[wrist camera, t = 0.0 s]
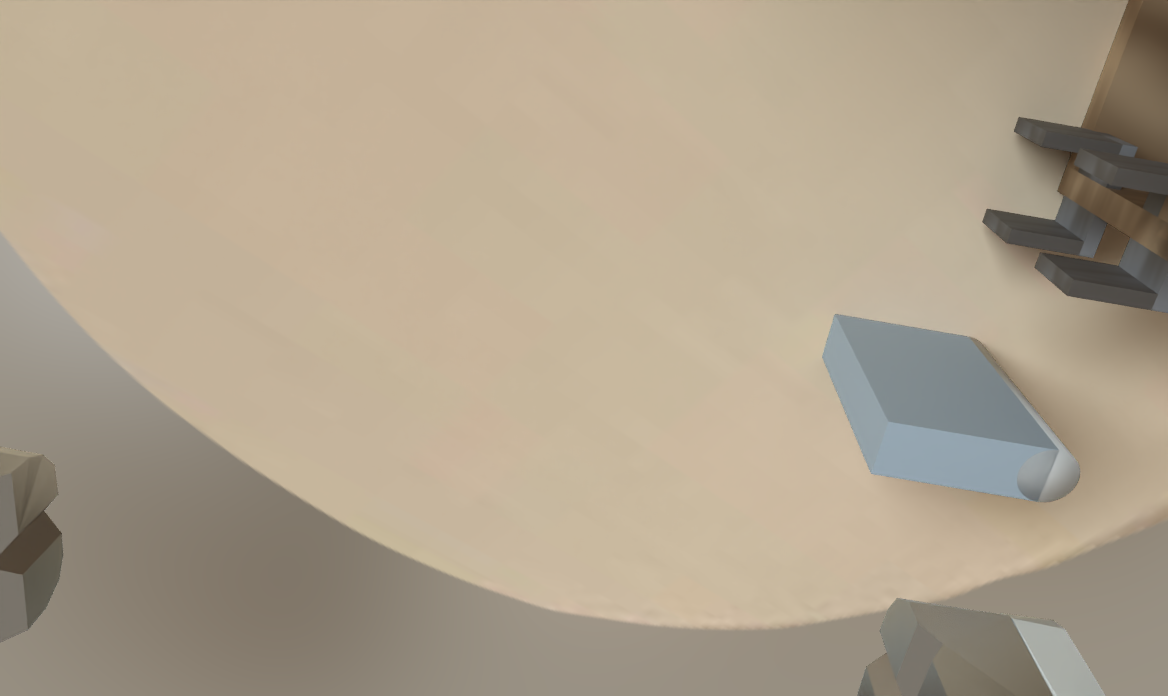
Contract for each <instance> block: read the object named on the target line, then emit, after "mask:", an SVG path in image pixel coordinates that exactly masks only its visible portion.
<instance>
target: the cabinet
mask: <svg viewBox="0 0 1168 696" xmlns="http://www.w3.org/2000/svg"><path fill="white" fill-rule="evenodd" d="M1014 132H1016V133H1018V134H1019V135H1021V136H1023V137H1025V138H1027V139H1029V140H1030V141H1032V142H1034V143H1036V144H1038V145H1039V146H1041V147H1046V148H1052V149H1058V150H1063V151H1069V152H1072V153H1071V156H1070V159H1069V161H1068V164H1067V167H1066V169H1065V172H1064V175H1063V177H1062V180H1061V183H1060V185H1059V188H1058V192H1060V193H1061V194H1063V195H1064V198H1063V200H1062V203H1061V206H1060V208H1059V211H1058V214H1057V216H1056V219H1055V220H1049V219H1043V218H1038V217H1032V216H1026V215H1020V214H1014V213H1009V212H1003V211H997V210H991V209H987V210H986V213H985V216H984V219H983V223H984V224H985V225H986V226H988V227H989V228H990V229H991V230H992V231H993V232H994V233H996V234H997V235H998V236H999V237H1000V238H1001V239H1003V240H1004V241H1005V242H1006V243H1009V244H1015V245H1021V246H1026V247H1032V248H1038V249H1044V250H1050V251H1055V252H1061V253H1067V254H1073V255H1079V256H1085V257H1090V258H1094V255H1095V253H1096V250H1097V248H1098V245H1099V243H1100V240H1101V238H1102V235H1103V233H1104V230H1105V228H1106V225H1107V223H1108V224H1110V225H1111V226H1113V227H1115V228H1116V229H1118V230H1119V231H1121V232H1122V233H1124V234H1126V235H1127V236H1129V237H1130V240H1129V242H1128V244H1127V247H1126V249H1125V252H1124V254H1123V256H1122V259H1121V261H1120V264H1119V266H1116V265H1110V264H1104V263H1098V262H1093V261H1087V260H1081V259H1075V258H1069V257H1064V256H1058V255H1052V254H1046V253H1040V255H1039V257H1038V260H1037V262H1036V265H1035V268H1036V269H1037V270H1038V271H1039V272H1040V273H1042V274H1043V275H1044V276H1045V277H1046V278H1047V279H1048V280H1050V281H1051V282H1052V283H1053V284H1054V285H1055V286H1057V287H1058V288H1059V289H1060V290H1061V291H1062V292H1063V293H1065V294H1066V295H1067V296H1071V297H1077V298H1083V299H1089V300H1095V301H1101V302H1106V303H1112V304H1118V305H1124V306H1130V307H1136V308H1141V309H1147V310H1153V311H1159V312H1165V313H1168V0H1129V2H1128V4H1127V7H1126V10H1125V12H1124V15H1123V18H1122V20H1121V23H1120V25H1119V28H1118V31H1117V33H1116V36H1115V39H1114V41H1113V44H1112V47H1111V49H1110V52H1109V55H1108V57H1107V60H1106V63H1105V65H1104V68H1103V71H1102V73H1101V76H1100V79H1099V81H1098V84H1097V87H1096V89H1095V92H1094V95H1093V97H1092V100H1091V103H1090V105H1089V108H1088V111H1087V113H1086V116H1085V119H1084V121H1083V124H1082V127H1081V128H1079V127H1073V126H1067V125H1062V124H1056V123H1050V122H1044V121H1039V120H1033V119H1027V118H1021V117H1019V118H1018V121H1017V124H1016V127H1015V129H1014Z"/></svg>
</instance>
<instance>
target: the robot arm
mask: <svg viewBox="0 0 1168 696" xmlns="http://www.w3.org/2000/svg"><path fill="white" fill-rule="evenodd" d="M57 495H58V487H57V479H56V471H55V465H54V464H53V463H52V462H51V461H50V460H49V459H47V458H46V457H45V456H44V455H42V454H36V453H31V452H26V451H21V450H15V449H10V448H5V447H0V642H3V641H5V640H7V639H9V638H11V637H14V636H16V635H18V634H20V633H22V632H25V631H27V630H28V629H29V628H30V627H31V625H33V623H34V622H35V621H36V620H37V618H38V617H39V616H40V615H41V614H42V612H43V611H44V610H45V609H46V607H47V605H48V603H49V601H50V598H51V596H52V594H53V592H54V589H55V587H56V585H57V583H58V581H59V577H60V571H61V565H62V558H63V545H62V533H61V532H60V531H59V529H58V528H57V527H56V526H55V524H54V523H53V522H52V521H51V519H50V518H49V517H48V515H47V514H46V513H45V512H44V510H45V509H46V508H47V507H48V506H49V505H50V503H51V502H52V501H53V500H54V499H55V498H56V497H57ZM880 633H881V636H882V639H883V642H884V645H885V648H886V651H887V653H885V654H884V655H882V656H881V657H879V658H878V659H877V660H875V661H874V662H872V663H871V664H869V665H868V666H866V669H865V673H864V676H863V679H862V682H861V685H860V688H859V691H858V696H1105V694H1104V692H1103V691H1102V689H1101V687H1100V686H1099V684H1098V682H1097V681H1096V679H1095V677H1094V676H1093V674H1092V672H1091V671H1090V669H1089V668H1088V666H1087V664H1086V662H1085V661H1084V659H1083V658H1082V656H1081V654H1080V653H1079V651H1078V649H1077V648H1076V646H1075V645H1074V643H1073V641H1072V639H1071V638H1070V636H1069V635H1068V633H1067V631H1066V630H1065V629H1064V628H1063V627H1062V626H1061V625H1059V624H1057V623H1056V622H1055V621H1054V620H1050V619H1043V618H1035V617H1028V616H1020V615H1013V614H1006V613H1000V614H995V613H989V612H983V611H976V610H970V609H964V608H957V607H951V606H944V605H938V604H932V603H925V602H919V601H912V600H906V599H900V598H897V599H896V600H895V601H894V603H893V604H892V605H891V606H890V608H889V609H888V611H887V613H886V616H885V618H884V621H883V624H882V626H881V629H880Z"/></svg>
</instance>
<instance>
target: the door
mask: <svg viewBox="0 0 1168 696" xmlns="http://www.w3.org/2000/svg"><path fill="white" fill-rule="evenodd" d="M822 358H823V360H824V363H825V365H826V367H827V370H828V372H829V375H830V377H831V379H832V382H833V384H834V386H835V389H836V391H837V394H838V396H839V398H840V401H841V403H842V406H843V408H844V410H845V413H846V415H847V418H848V420H849V422H850V425H851V427H852V429H853V432H854V434H855V437H856V439H857V441H858V444H859V446H860V449H861V451H862V453H863V456H864V458H865V460H866V463H867V465H868V468H869V470H870V472H871V474H875V475H881V476H887V477H893V478H899V479H905V480H911V481H917V482H923V483H929V484H935V485H941V486H947V487H953V488H959V489H965V490H971V491H977V492H983V493H989V494H995V495H1000V496H1006V497H1012V498H1018V499H1024V500H1030V501H1036V502H1051V501H1055V500H1058V499H1060V498H1062V497H1064V496H1066V495H1067V494H1069V493H1070V492H1071V491H1072V490H1073V489H1074V488H1075V486H1076V485H1077V483H1078V481H1079V477H1080V467H1079V464H1078V462H1077V461H1076V459H1075V458H1074V457H1073V455H1072V454H1071V453H1070V452H1069V451H1068V449H1067V448H1066V447H1065V446H1064V444H1063V443H1062V442H1061V441H1060V439H1059V438H1058V437H1057V436H1056V435H1055V433H1054V432H1053V431H1052V430H1051V428H1050V427H1049V426H1048V425H1047V423H1046V422H1045V421H1044V420H1043V419H1042V417H1041V416H1040V415H1039V414H1038V412H1037V411H1036V410H1035V409H1034V407H1033V406H1032V405H1031V404H1030V403H1029V401H1028V400H1027V399H1026V398H1025V396H1024V395H1023V394H1022V393H1021V391H1020V390H1019V389H1018V388H1017V387H1016V385H1015V384H1014V383H1013V382H1012V380H1011V379H1010V378H1009V377H1008V376H1007V374H1006V373H1005V372H1004V371H1003V369H1002V368H1001V367H1000V366H999V364H998V363H997V362H996V361H995V360H994V358H993V357H992V356H991V355H990V353H989V352H988V351H987V350H986V348H985V347H984V346H983V345H982V344H981V343H980V342H979V341H978V340H976V339H974V338H972V337H967V336H961V335H955V334H949V333H943V332H938V331H932V330H926V329H920V328H914V327H908V326H902V325H896V324H891V323H885V322H879V321H873V320H867V319H861V318H855V317H849V316H844V315H838V314H835V315H834V319H833V322H832V325H831V329H830V332H829V336H828V339H827V343H826V346H825V349H824V353H823V356H822Z"/></svg>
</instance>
